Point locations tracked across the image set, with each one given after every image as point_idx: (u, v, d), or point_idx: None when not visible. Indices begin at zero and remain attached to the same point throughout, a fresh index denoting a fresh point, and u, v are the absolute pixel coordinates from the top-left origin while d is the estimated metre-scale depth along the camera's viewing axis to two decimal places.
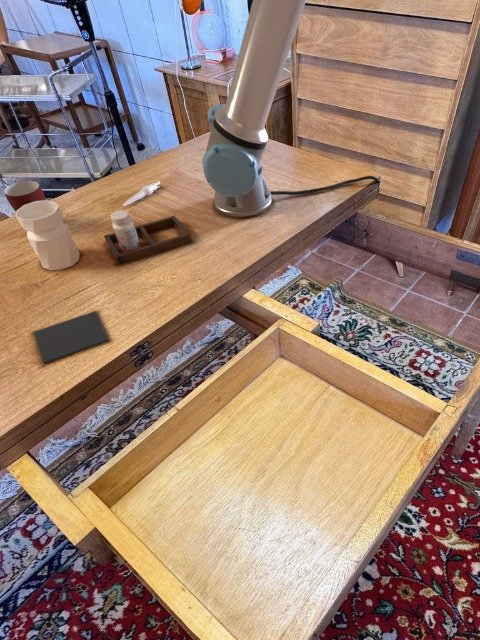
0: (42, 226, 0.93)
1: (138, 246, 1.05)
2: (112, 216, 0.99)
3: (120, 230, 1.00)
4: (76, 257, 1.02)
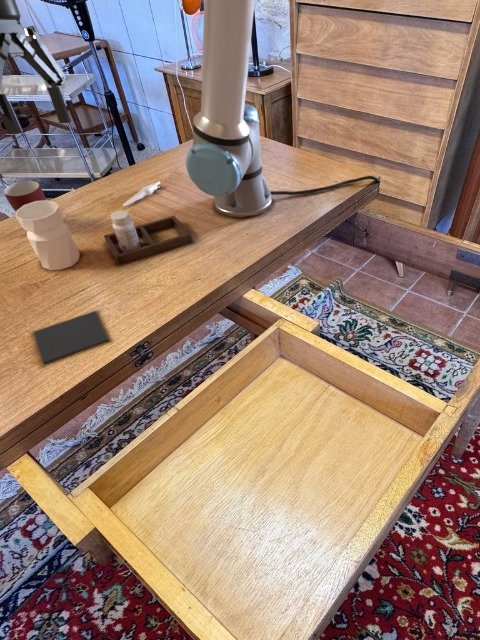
0: (42, 226, 0.93)
1: (138, 246, 1.05)
2: (112, 216, 0.99)
3: (120, 230, 1.00)
4: (76, 257, 1.02)
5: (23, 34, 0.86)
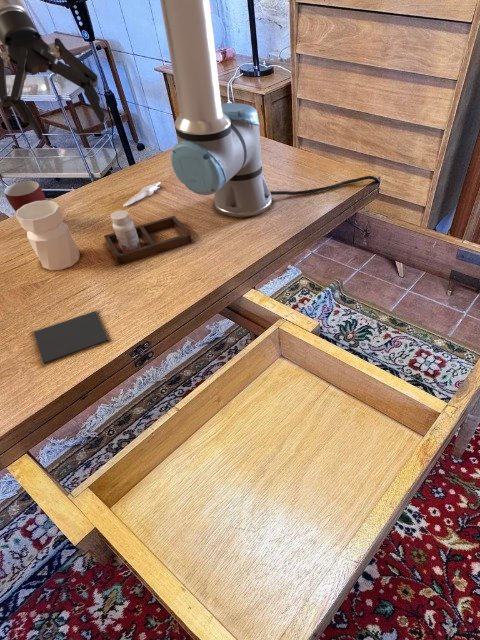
0: (42, 226, 0.93)
1: (138, 246, 1.05)
2: (112, 216, 0.99)
3: (120, 230, 1.00)
4: (76, 257, 1.02)
5: (45, 47, 0.90)
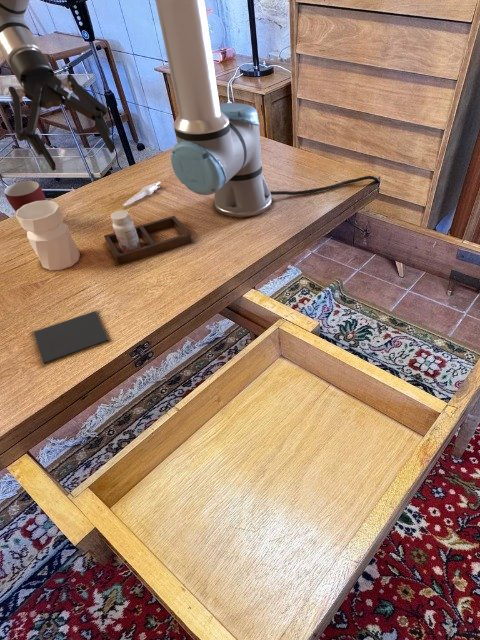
0: (42, 226, 0.93)
1: (138, 246, 1.05)
2: (112, 216, 0.99)
3: (120, 230, 1.00)
4: (76, 257, 1.02)
5: (58, 83, 0.95)
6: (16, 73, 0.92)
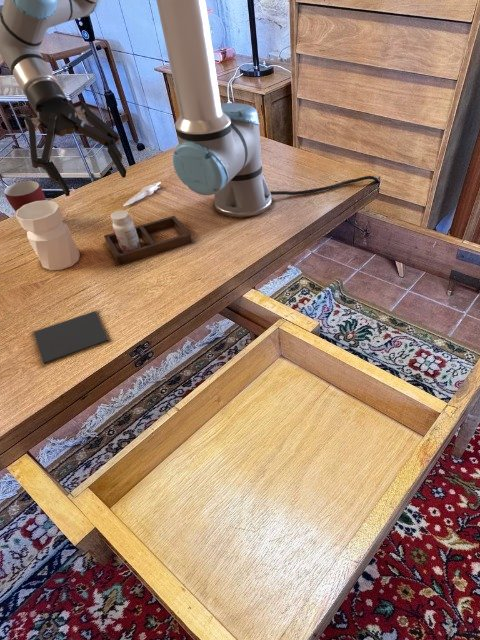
0: (42, 226, 0.93)
1: (138, 246, 1.05)
2: (112, 216, 0.99)
3: (120, 230, 1.00)
4: (76, 257, 1.02)
5: (72, 111, 0.97)
6: (32, 103, 0.94)
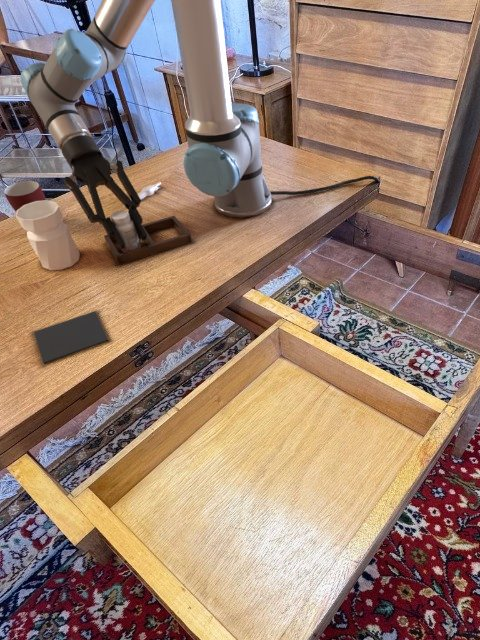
0: (42, 226, 0.93)
1: (138, 246, 1.05)
2: (112, 216, 0.99)
3: (120, 230, 1.00)
4: (76, 257, 1.02)
5: (105, 163, 0.98)
6: (66, 157, 0.95)
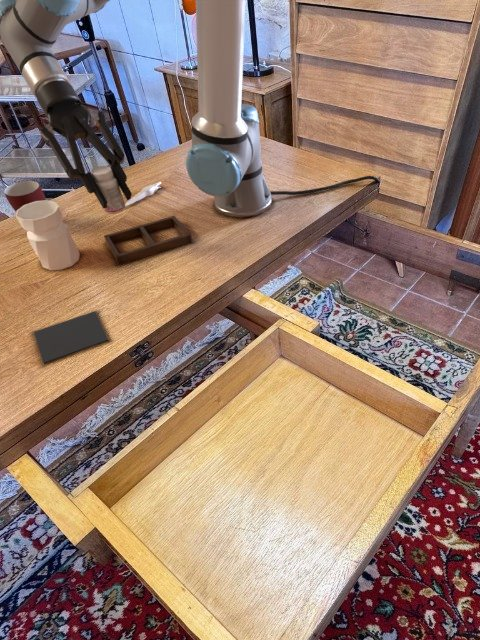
0: (42, 226, 0.93)
1: (122, 207, 0.96)
2: (93, 171, 0.90)
3: (102, 187, 0.91)
4: (76, 257, 1.02)
5: (85, 114, 0.90)
6: (42, 105, 0.87)
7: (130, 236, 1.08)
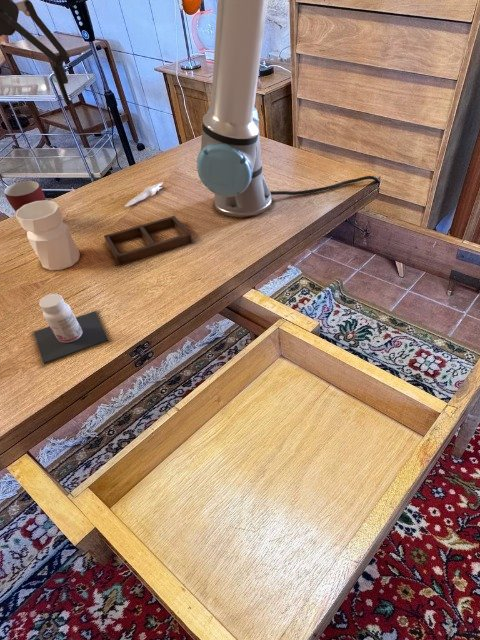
0: (42, 226, 0.93)
1: (78, 334, 0.84)
2: (41, 303, 0.79)
3: (52, 319, 0.80)
4: (76, 257, 1.02)
5: (12, 11, 0.80)
6: None
7: (130, 236, 1.08)
